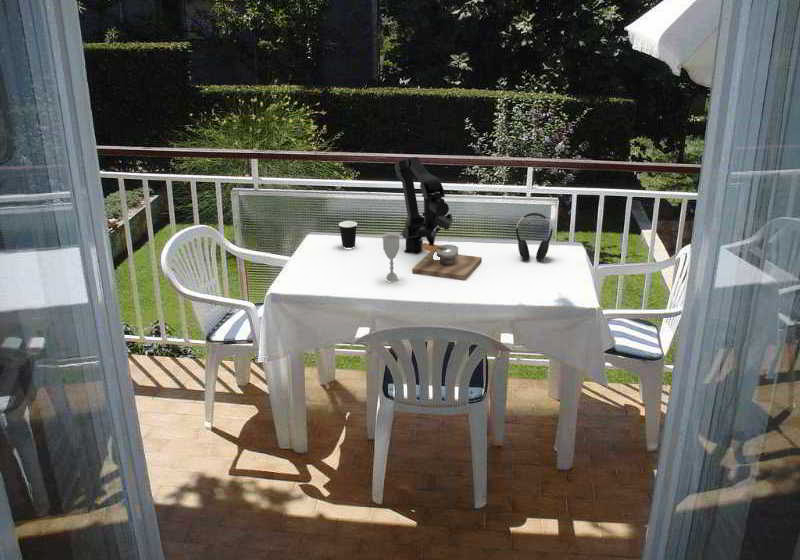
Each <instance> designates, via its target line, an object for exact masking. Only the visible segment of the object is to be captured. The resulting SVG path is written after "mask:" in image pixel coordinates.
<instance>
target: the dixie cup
mask: <svg viewBox="0 0 800 560" xmlns="http://www.w3.org/2000/svg"><path fill="white" fill-rule="evenodd" d="M357 225H358V223H357V222H356V221H353V220H352V221H351V220H347V221H341V222H339V223H338V226H339V231H340V236H341V237H340V238H341V244H342V247H345V248H353V247H354V248H355V247H356V237H357Z"/></svg>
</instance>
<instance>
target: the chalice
mask: <svg viewBox="0 0 800 560" xmlns="http://www.w3.org/2000/svg"><path fill="white" fill-rule="evenodd" d="M381 237H382V240H383V241H382V244H383V247H382V248H383V251H384V254H385V255H386V257H387V259H389V260H390V261H389V265H390V266H389V269H390V271H389V273H387V275H386V278H385V279H387V280H388V281H396V280H398V281H399V278H398V275H397V273H395V272H394V269H395V267H394V264H395V263H394V259H396V257H397V255H398V252H399V250H400V238H401V234H400V233H397V232H386V233H383V234H381ZM388 281H387V282H388ZM396 282H397V281H396Z"/></svg>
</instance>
